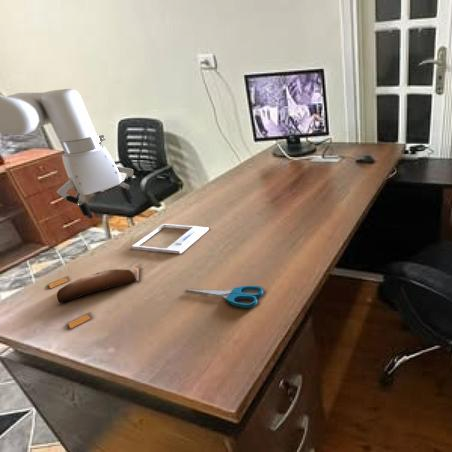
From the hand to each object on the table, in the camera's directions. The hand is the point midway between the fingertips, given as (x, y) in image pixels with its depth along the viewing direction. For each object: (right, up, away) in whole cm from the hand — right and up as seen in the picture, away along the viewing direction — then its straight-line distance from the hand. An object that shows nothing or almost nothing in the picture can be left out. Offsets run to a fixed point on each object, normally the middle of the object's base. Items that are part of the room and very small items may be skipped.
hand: (110, 209), depth 91 cm
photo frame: (+6, -9, +22) cm, 24 cm away
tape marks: (-9, -23, -2) cm, 25 cm away
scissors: (+31, -21, -5) cm, 38 cm away
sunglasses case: (-3, -21, +2) cm, 21 cm away
